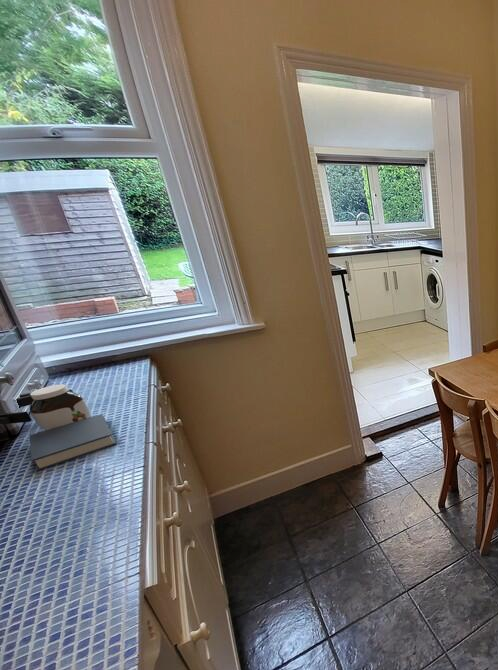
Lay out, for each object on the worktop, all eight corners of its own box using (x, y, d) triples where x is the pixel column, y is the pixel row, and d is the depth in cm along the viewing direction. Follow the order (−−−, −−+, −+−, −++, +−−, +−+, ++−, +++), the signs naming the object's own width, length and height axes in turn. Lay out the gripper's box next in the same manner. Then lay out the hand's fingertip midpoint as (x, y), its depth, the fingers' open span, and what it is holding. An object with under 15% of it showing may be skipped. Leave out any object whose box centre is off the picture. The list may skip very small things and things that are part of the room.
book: (35, 445, 106) (29, 435, 105) (107, 423, 116) (102, 413, 114) (38, 470, 95) (30, 460, 94) (116, 444, 104) (111, 434, 103)
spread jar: (55, 438, 109) (31, 399, 104) (31, 433, 113) (6, 395, 108) (107, 416, 119) (88, 380, 114) (84, 412, 123) (64, 377, 118)
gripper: (19, 404, 124) (94, 397, 126) (-79, 449, 102) (14, 440, 103) (5, 381, 121) (83, 374, 123) (-99, 423, 99) (-3, 414, 100)
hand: (51, 404), depth 113 cm, fingers open, 13 cm apart
